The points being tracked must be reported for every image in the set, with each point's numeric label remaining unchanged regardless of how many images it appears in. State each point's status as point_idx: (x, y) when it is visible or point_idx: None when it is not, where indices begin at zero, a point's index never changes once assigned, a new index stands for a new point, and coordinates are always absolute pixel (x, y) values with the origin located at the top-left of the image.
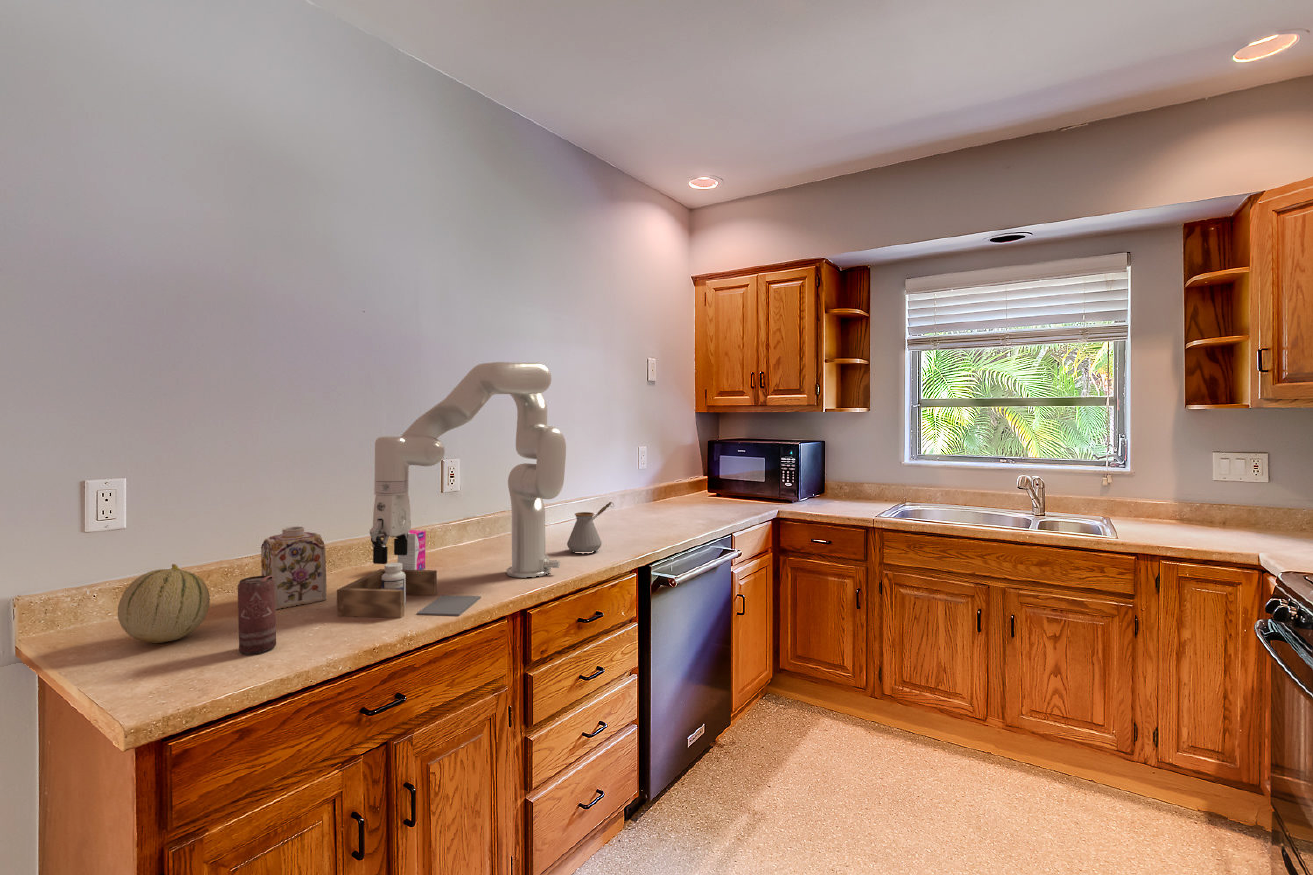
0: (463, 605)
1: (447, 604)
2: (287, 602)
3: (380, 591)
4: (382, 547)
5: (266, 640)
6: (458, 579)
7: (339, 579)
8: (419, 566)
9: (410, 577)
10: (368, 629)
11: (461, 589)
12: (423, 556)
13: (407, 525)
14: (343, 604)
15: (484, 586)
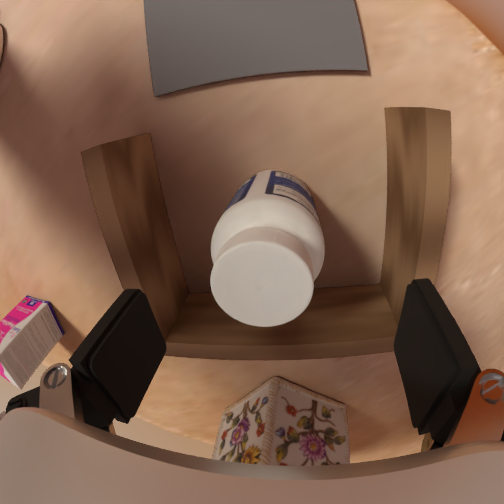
0: None
1: (251, 15)
2: (331, 407)
3: (447, 202)
4: (472, 382)
5: None
6: (29, 176)
7: (148, 397)
8: (33, 303)
9: (140, 238)
10: (486, 161)
11: (81, 98)
12: (14, 311)
13: (29, 488)
14: None
15: (52, 63)
